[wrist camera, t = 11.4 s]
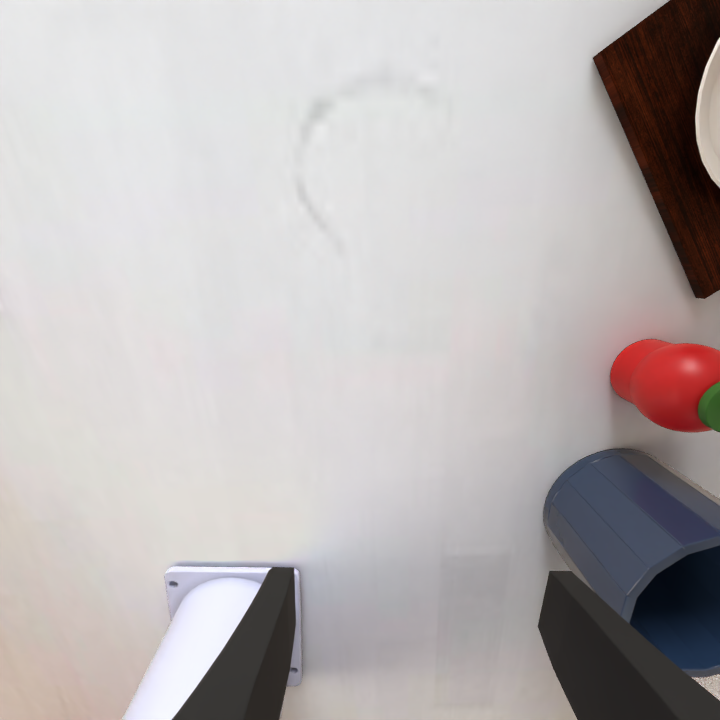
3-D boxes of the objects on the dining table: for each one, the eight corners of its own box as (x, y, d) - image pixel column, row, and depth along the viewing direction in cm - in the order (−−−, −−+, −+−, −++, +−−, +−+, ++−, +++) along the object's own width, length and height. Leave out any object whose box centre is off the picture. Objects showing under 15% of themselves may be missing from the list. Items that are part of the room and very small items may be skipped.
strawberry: (670, 407, 19) (787, 463, 14) (596, 405, 19) (686, 461, 14) (691, 333, 18) (826, 365, 13) (613, 331, 18) (716, 363, 13)
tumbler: (656, 560, 22) (773, 679, 16) (533, 558, 22) (602, 677, 16) (690, 449, 20) (840, 536, 14) (555, 447, 20) (644, 533, 14)
